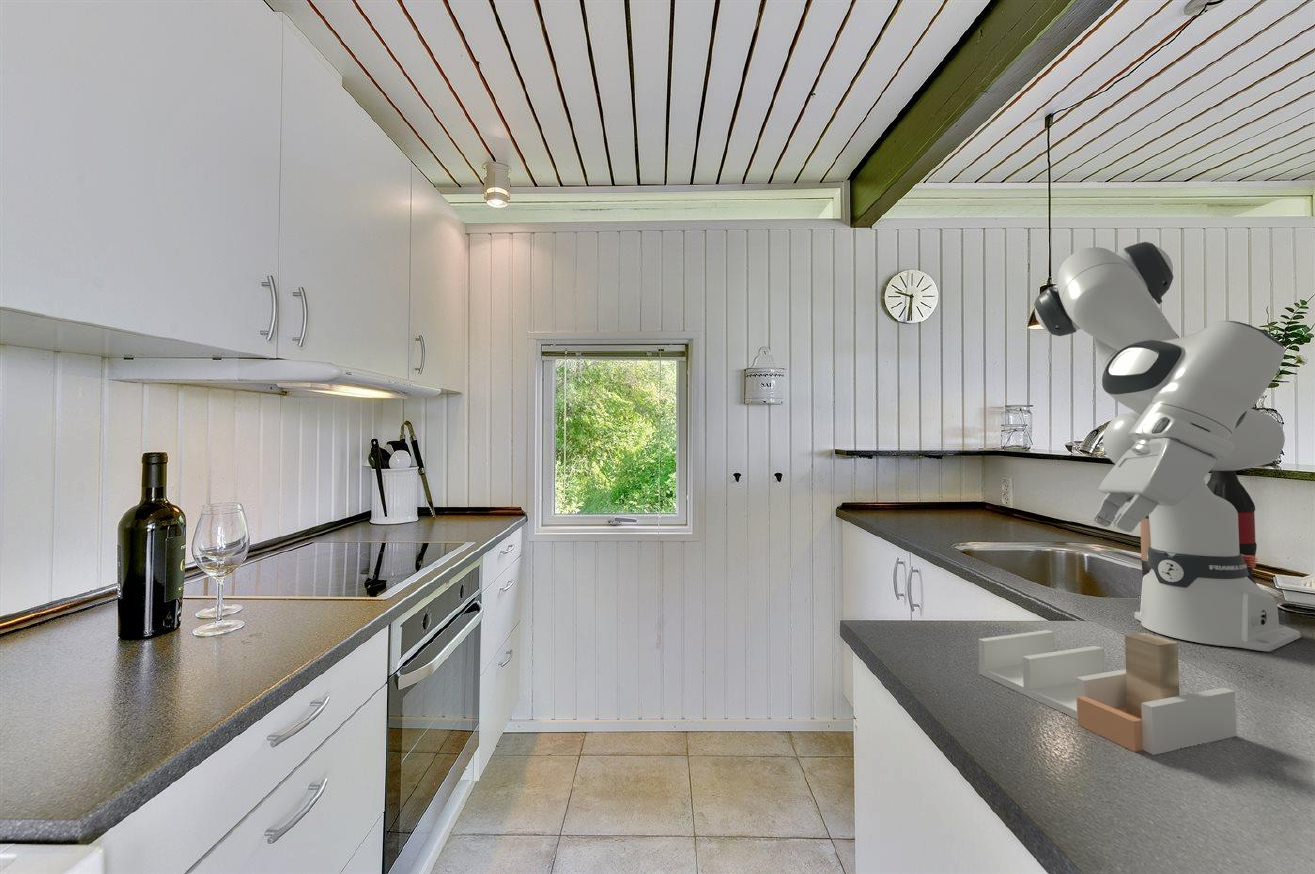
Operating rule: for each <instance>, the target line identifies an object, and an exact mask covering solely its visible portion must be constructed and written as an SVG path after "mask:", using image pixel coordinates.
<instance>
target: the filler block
mask: <svg viewBox="0 0 1315 874" xmlns="http://www.w3.org/2000/svg"><path fill="white" fill-rule="evenodd" d="M1178 644H1179V643H1178V642H1177V641H1174V640H1170V639H1167V638H1164V637H1159V636H1155V635H1152V634H1148V633H1146V632H1139V633H1133V634H1132V633H1131V634H1125V635H1124V645H1125V646H1124V649H1125V651H1124V653H1125V669H1126V684H1127V712H1129V713H1131V714H1133V715H1136V716H1138V717H1141V718H1142V710H1141V703H1144V702H1149V701H1154V700H1160V699H1165V698H1170V697H1176V696H1180V674H1179V673H1180V671H1179V648H1178V647H1179V646H1178Z"/></svg>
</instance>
